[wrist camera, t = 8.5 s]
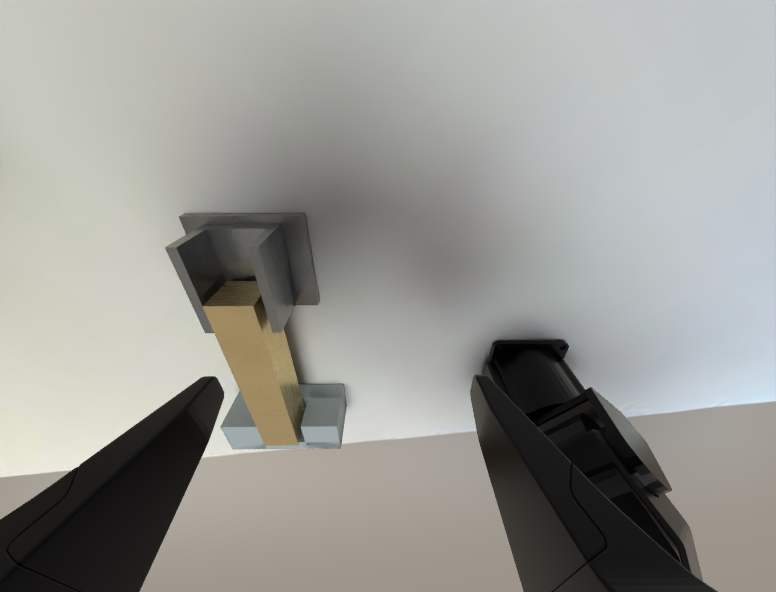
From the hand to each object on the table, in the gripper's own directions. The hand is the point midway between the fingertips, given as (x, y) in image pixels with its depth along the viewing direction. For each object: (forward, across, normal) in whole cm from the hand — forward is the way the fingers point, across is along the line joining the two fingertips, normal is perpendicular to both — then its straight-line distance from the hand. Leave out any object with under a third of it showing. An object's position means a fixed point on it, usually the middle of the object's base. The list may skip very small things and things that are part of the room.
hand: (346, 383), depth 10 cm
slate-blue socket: (+12, +8, +16) cm, 22 cm away
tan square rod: (+10, +8, +9) cm, 16 cm away
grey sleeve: (+12, +8, +1) cm, 14 cm away
